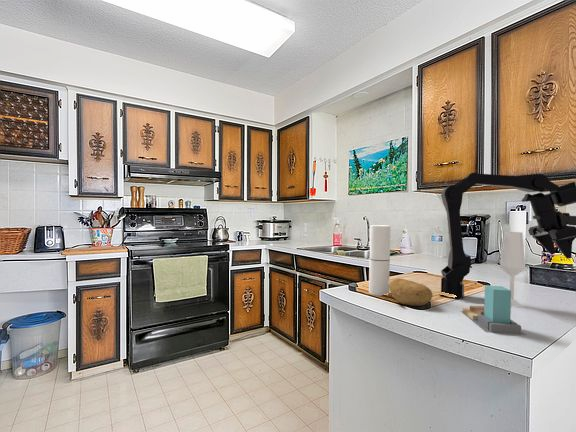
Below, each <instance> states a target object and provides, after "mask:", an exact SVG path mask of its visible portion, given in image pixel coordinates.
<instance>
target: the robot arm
mask: <svg viewBox="0 0 576 432" xmlns="http://www.w3.org/2000/svg"><path fill="white" fill-rule="evenodd" d="M475 185H477V186H489V187H490V186H493V187H501V188H502V187H503V188H511V189H515V190H518V191H522V192H525V193H526V194H524V197H522V199H521V202H522V203H523V202H529V204H530V205H531V209H532V211H533V214H534V215H532V219H533V220H536V223H537V225H534V226H530V227H529V228H528V230H527V231H528V233H529V234H528V235H529V236H532V238H533V239H535V241H536V242H538V243H539V244H540V245H541V246H542V247H543V248H544V249H545V250H546V251H547V252H548V253H549V254H550V255H555V254H556V252H555V250H556V249H555V246H556V248H557V249H558V250H559V252H560V253H561V254H562V255H563V256H564V257H565V258H566V259H567V260H570V259H571V258H572V251H573V250H572V249H573V241H575V239H576V215H570V213H569V212H561V211H560V210H559V211H557V209H556V205H557V206H558V207H559V208H560V207H565V206H568V205H569V206H570V205H573V204H576V182H575V181H570V182H566V183H565V184H561V185H558V184H555V183H554V182H552V181H551V180H550V179H549V178H548V176H547V175H546V174H544V173H533V174H532V173H531V174H521V175H505V174H504V175H503V174H493V173H491V174H489V173H478V172H471V173H469V174H467V175H466V176H465V177H463V178H462V179H460V180H459V181H458V182H457V183H455V184H454V185H450V186H447V187H445V188H444V189H443V190H442V191H441V194H440V196H441V199H442V204H443V206H444V208H445V211H446V219H447V228H448V229H447V230H448V241H449V248H450V249H449V254H448V259H447V265H446V266H445V267H443V268H442V269H441V270H440V273H441V275H442V277H441V281H440V293H441V292H445V293H449V294H454V295H456V296H457V297H455V300H460V299H461V298H463V297H464V296H465V284H464V278H465V277H466V276H467V275H469V273H470V272H471V269H472V268H473V266H472V265H471V260H472V259H471V255H469V254H467V253H465V250H464V243H463V231H462V230H463V229H462V220H461V218H462V217H461V208H462V204H463V195H464V193H466V192H467V191H469V190H470V189H471V188H472V187H474V186H475ZM536 192H538V193H536ZM547 192H549V193H547ZM530 193H534V194H530ZM544 193H545V194H544Z"/></svg>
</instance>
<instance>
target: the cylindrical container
mask: <svg viewBox="0 0 576 432" xmlns="http://www.w3.org/2000/svg"><path fill="white" fill-rule="evenodd" d="M390 258H391V225H385V224H384V225H382V224H371V225H370V226H369V259H368V261H369V263H368V264H369V265H368V267H369V269H368V270H369V271H368V273H369V274H368V281H369V282H368V294H370V295H373V296H379V297H383V296H382V295H384V294H387V293H389V294H390V288H389V284H390V270H391V269H390V265H391V264H390V263H391V262H390V261H391V259H390Z"/></svg>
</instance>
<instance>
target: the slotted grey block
mask: <svg viewBox="0 0 576 432" xmlns="http://www.w3.org/2000/svg"><path fill="white" fill-rule="evenodd" d="M460 312H461V313H462V314H463V315H464V316H466V317H467V318H468V319H469V320H470V321H472V322H473V323H474V324H475V325H476V326H478V327H479V328H481V330H483V331H484V332H485V333H491V334H492V333H494V334H495V333H496V334H507V335H522V336H527V334H526V333H524V332H523V331H522V325H520V324H518V323H517V322H515V321H514V320H512V319H511V318H510V324H503V323H492V321H490V320H489V319H488V318H486V317H485V316H483V315H482V314H478V320H473V319H471V318H470V317H469V316H468V315H466V314H465V313H464V312H463V311H462V310H460Z"/></svg>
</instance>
